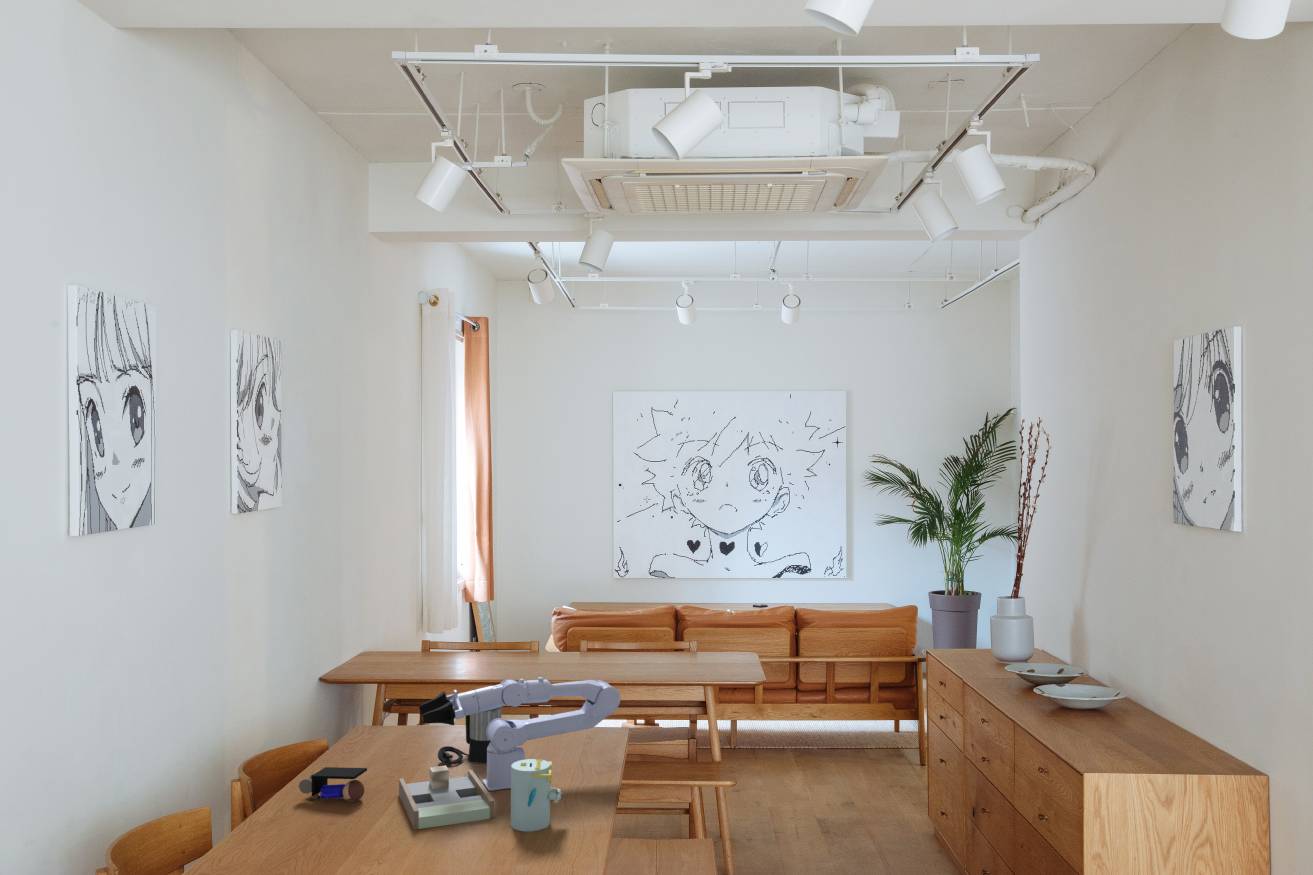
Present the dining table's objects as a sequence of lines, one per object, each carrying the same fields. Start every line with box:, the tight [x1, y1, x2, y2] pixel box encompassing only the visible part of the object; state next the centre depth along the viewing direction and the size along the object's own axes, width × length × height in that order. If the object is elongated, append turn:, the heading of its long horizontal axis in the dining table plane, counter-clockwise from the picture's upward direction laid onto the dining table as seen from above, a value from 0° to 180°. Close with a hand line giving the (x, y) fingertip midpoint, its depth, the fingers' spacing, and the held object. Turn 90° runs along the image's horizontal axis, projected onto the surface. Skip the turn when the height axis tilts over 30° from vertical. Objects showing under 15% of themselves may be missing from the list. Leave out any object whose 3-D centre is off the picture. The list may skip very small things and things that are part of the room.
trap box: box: [398, 769, 495, 831], centre depth 219 cm, size 18×24×4 cm
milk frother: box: [437, 707, 502, 765], centre depth 255 cm, size 14×16×15 cm
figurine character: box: [298, 766, 368, 803], centre depth 224 cm, size 7×8×15 cm
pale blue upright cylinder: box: [510, 758, 563, 832], centre depth 209 cm, size 20×12×13 cm, turn 6°
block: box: [428, 764, 450, 789], centre depth 227 cm, size 4×4×4 cm
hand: (421, 714), depth 229 cm, fingers open, 7 cm apart
